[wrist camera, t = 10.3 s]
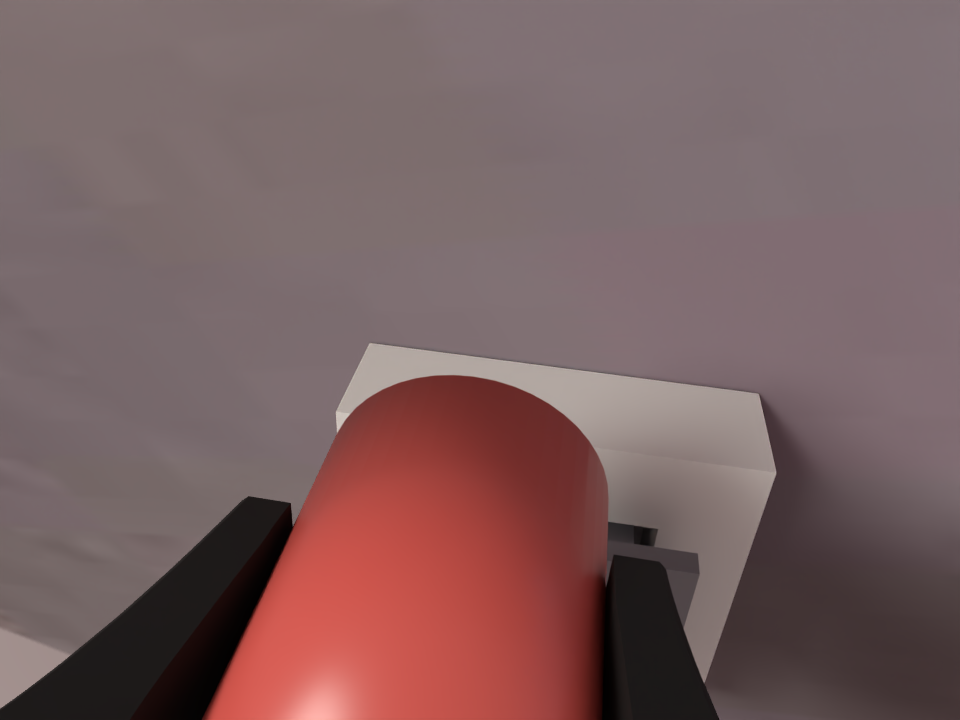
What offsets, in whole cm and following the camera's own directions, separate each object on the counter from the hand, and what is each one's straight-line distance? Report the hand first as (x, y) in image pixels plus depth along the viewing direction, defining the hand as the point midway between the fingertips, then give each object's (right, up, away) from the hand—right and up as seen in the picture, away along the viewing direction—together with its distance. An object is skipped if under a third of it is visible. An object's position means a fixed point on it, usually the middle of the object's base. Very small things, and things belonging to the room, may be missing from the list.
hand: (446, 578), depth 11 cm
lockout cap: (0, +1, +1) cm, 2 cm away
